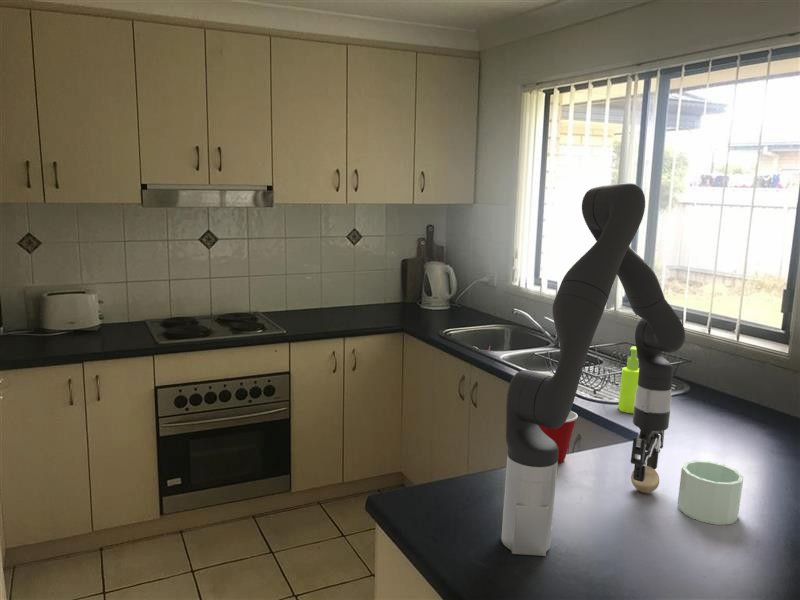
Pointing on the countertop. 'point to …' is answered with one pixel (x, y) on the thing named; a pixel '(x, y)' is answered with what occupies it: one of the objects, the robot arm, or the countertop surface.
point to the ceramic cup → (710, 492)
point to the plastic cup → (562, 435)
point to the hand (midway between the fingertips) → (645, 474)
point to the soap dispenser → (629, 383)
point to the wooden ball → (647, 481)
